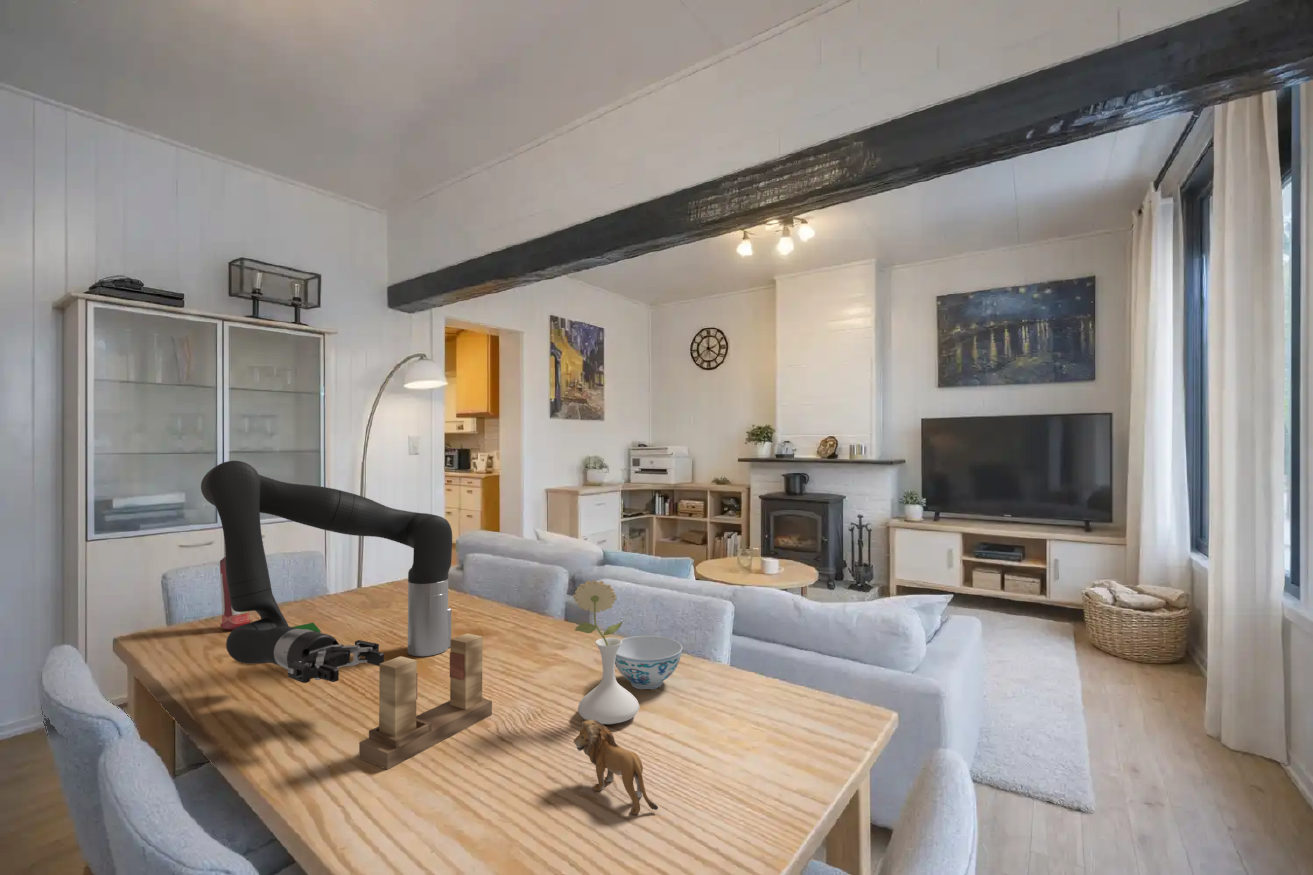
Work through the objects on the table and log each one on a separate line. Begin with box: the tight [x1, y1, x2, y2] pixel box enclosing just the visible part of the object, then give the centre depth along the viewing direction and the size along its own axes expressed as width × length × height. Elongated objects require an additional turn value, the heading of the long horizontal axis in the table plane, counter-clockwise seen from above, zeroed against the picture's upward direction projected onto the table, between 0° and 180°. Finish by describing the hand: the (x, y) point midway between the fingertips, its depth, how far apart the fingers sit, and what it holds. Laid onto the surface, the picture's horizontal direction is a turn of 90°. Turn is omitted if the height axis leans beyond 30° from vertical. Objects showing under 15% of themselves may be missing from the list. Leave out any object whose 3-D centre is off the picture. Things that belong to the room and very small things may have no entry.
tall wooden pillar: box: [378, 655, 418, 738], centre depth 99 cm, size 4×4×12 cm
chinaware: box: [615, 635, 683, 690], centre depth 127 cm, size 15×15×8 cm
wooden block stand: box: [358, 632, 493, 770], centre depth 104 cm, size 22×7×14 cm, turn 150°
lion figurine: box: [573, 719, 659, 815], centre depth 86 cm, size 15×5×9 cm, turn 52°
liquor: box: [219, 556, 252, 632], centre depth 165 cm, size 7×7×28 cm
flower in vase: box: [572, 579, 640, 725], centre depth 112 cm, size 13×11×25 cm
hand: (360, 667), depth 105 cm, fingers open, 8 cm apart
